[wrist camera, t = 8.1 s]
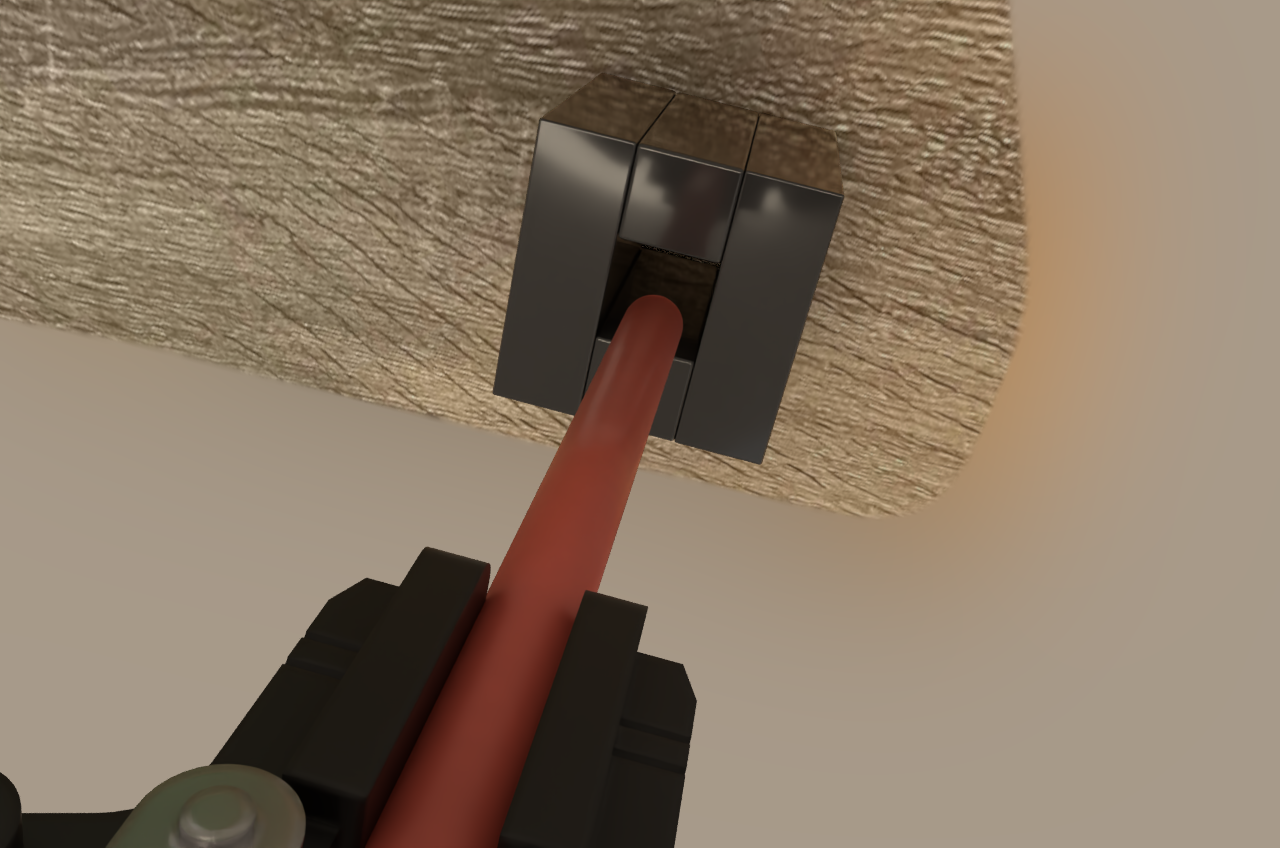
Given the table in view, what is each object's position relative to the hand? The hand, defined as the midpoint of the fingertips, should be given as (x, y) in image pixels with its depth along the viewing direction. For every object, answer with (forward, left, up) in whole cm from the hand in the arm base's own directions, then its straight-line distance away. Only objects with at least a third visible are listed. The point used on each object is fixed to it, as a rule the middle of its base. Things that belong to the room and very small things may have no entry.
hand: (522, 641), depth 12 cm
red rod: (0, 0, -11) cm, 11 cm away
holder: (0, 0, -19) cm, 19 cm away
